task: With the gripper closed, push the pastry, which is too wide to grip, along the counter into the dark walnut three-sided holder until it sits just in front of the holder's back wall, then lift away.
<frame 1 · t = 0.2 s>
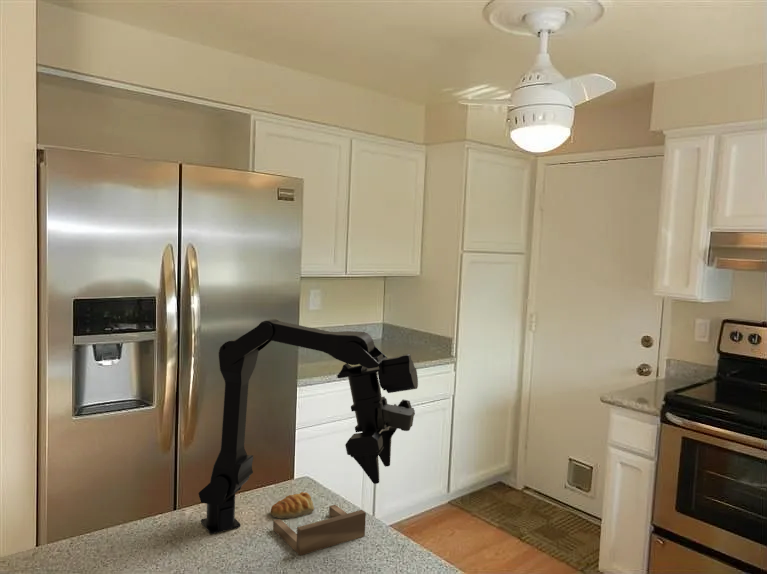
hand: (382, 474, 115), 15 cm above the countertop, tool pointing down, fingers open, 9 cm apart
pastry: (293, 513, 131), on the countertop
holder: (317, 531, 122), on the countertop
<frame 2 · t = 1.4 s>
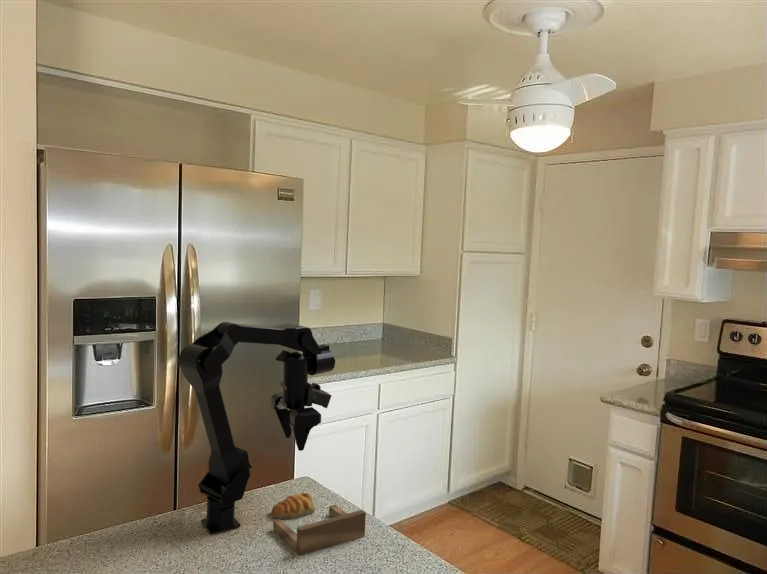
hand: (294, 443, 137), 13 cm above the countertop, tool pointing down, fingers open, 9 cm apart
nothing on the countertop moved.
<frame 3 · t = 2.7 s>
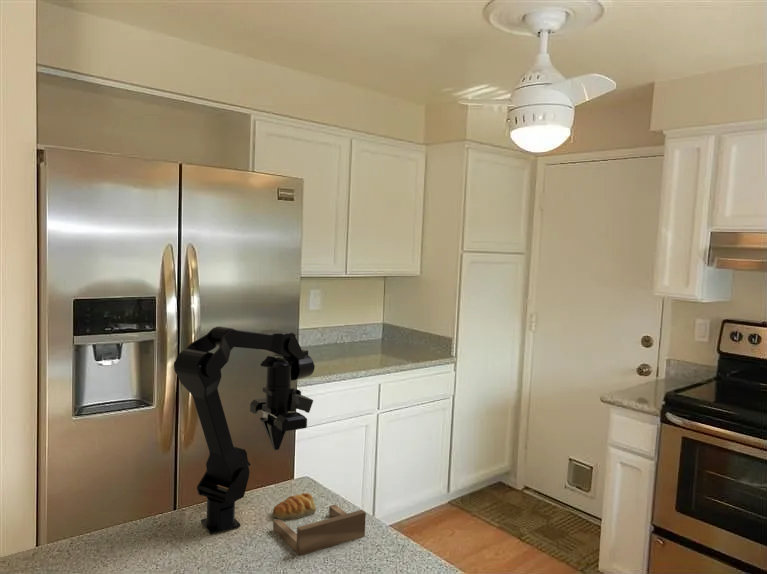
hand: (276, 449, 138), 11 cm above the countertop, tool pointing down, fingers closed
nothing on the countertop moved.
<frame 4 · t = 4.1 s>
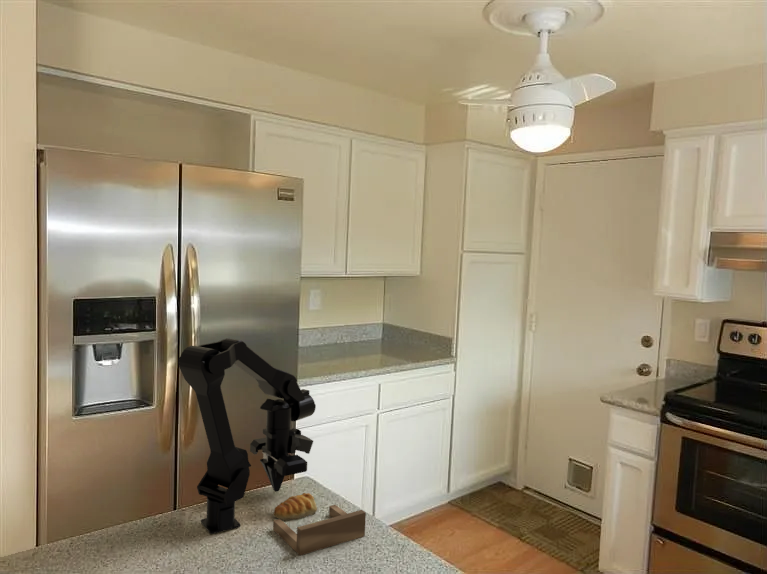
hand: (276, 490, 138), 1 cm above the countertop, tool pointing down, fingers closed
nothing on the countertop moved.
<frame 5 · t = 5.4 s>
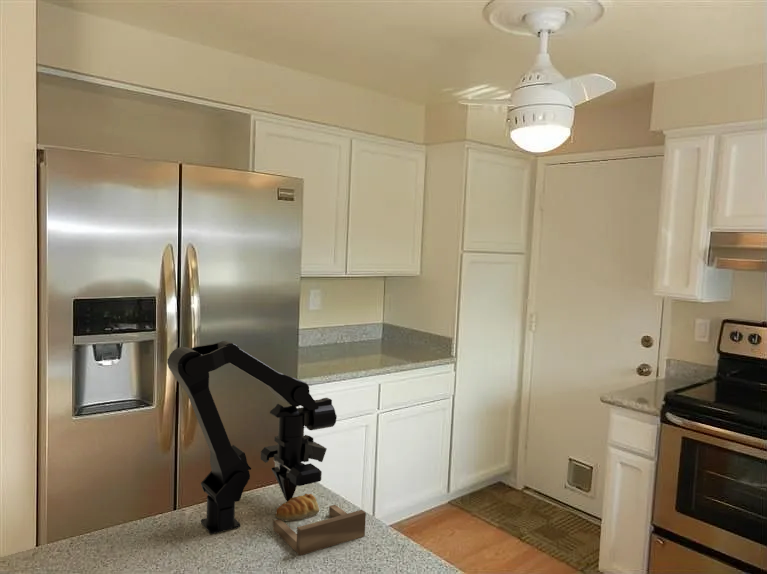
hand: (288, 500, 133), 2 cm above the countertop, tool pointing down, fingers closed
pastry: (298, 515, 130), on the countertop, touching gripper
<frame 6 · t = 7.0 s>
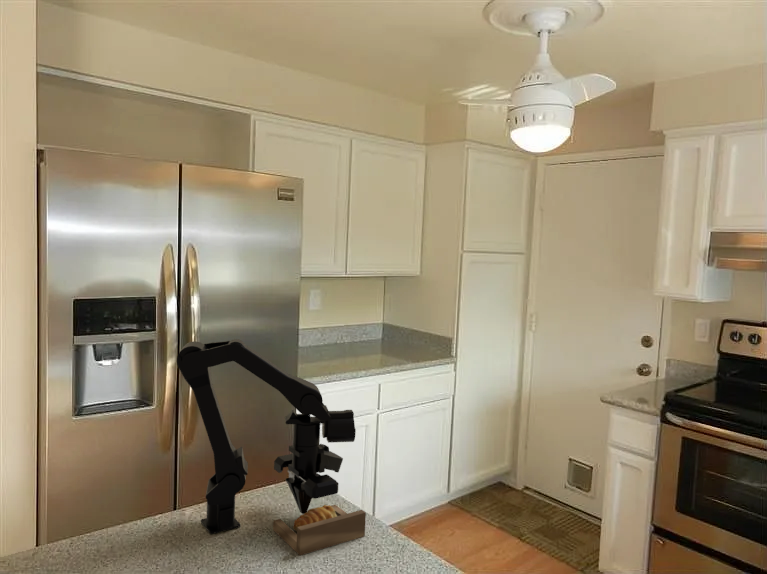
hand: (303, 512, 127), 2 cm above the countertop, tool pointing down, fingers closed
pastry: (317, 528, 125), on the countertop
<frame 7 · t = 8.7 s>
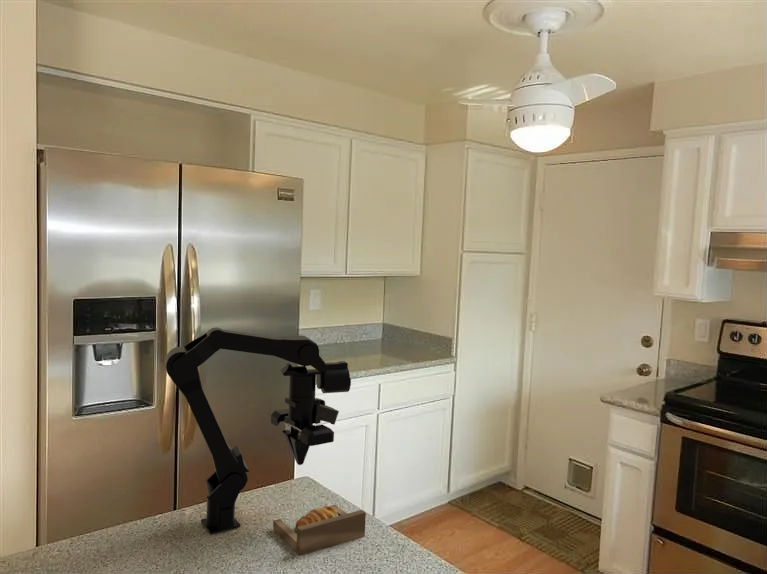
hand: (300, 464, 129), 11 cm above the countertop, tool pointing down, fingers closed
nothing on the countertop moved.
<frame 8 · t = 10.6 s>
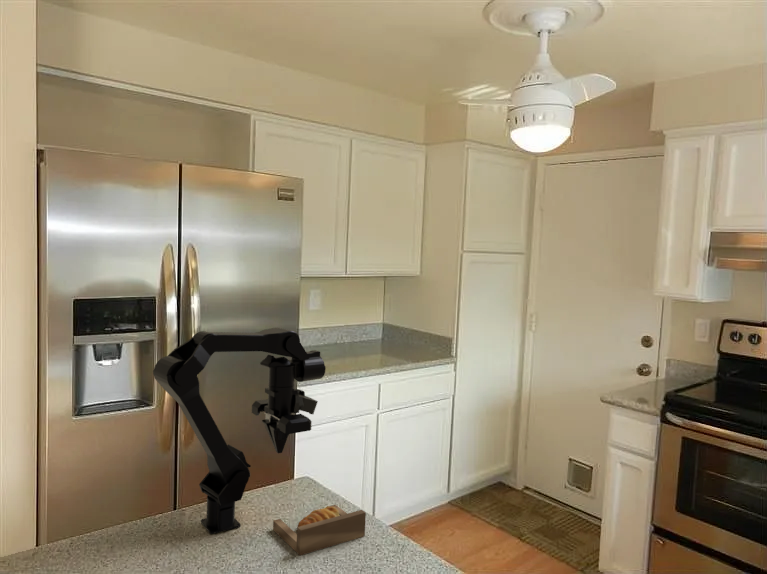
hand: (279, 452, 132), 13 cm above the countertop, tool pointing down, fingers closed
at the end: pastry 1.7 cm off-centre on the holder, point -0.5 cm above the holder's base; pastry tilted 0° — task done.
